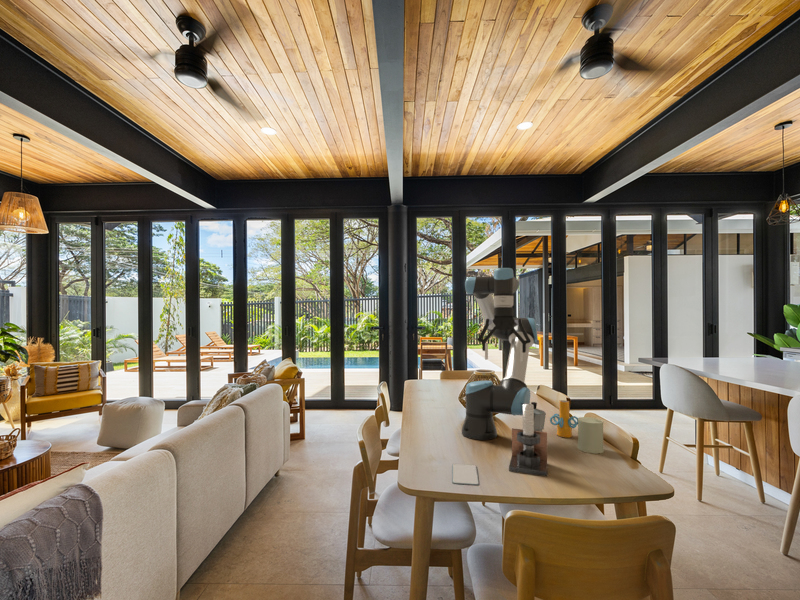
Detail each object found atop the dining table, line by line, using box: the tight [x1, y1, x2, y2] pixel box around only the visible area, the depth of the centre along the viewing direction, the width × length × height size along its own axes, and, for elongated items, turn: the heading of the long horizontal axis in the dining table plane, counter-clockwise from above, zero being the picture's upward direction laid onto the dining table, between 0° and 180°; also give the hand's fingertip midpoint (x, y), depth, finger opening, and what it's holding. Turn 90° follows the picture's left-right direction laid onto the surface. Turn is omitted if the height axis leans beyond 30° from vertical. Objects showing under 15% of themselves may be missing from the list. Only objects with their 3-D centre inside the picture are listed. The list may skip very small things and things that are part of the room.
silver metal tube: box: [522, 403, 534, 457], centre depth 135 cm, size 4×4×20 cm
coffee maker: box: [530, 401, 547, 432], centre depth 153 cm, size 15×9×18 cm, turn 149°
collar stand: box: [508, 428, 548, 477], centre depth 135 cm, size 12×12×11 cm
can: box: [577, 416, 605, 455], centre depth 153 cm, size 9×9×12 cm
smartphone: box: [451, 463, 480, 487], centre depth 128 cm, size 8×1×15 cm
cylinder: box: [549, 399, 579, 439], centre depth 170 cm, size 12×10×15 cm
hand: (503, 360), depth 154 cm, fingers open, 13 cm apart
